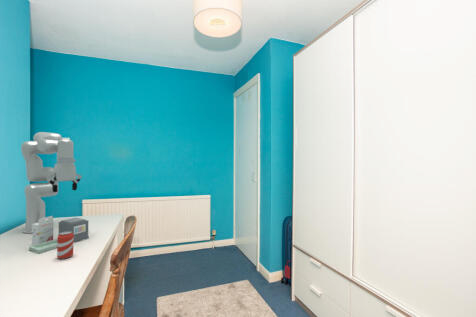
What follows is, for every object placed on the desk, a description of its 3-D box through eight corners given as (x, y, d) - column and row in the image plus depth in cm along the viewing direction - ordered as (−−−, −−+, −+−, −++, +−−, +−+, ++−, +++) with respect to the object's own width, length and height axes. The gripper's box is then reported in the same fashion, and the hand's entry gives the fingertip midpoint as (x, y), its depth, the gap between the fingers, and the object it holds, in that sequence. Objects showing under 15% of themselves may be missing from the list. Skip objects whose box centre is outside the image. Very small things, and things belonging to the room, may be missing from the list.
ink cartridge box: (46, 239, 135) (47, 215, 135) (53, 240, 134) (54, 215, 134) (31, 244, 127) (31, 218, 127) (38, 245, 126) (38, 219, 126)
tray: (28, 250, 119) (28, 246, 119) (59, 241, 132) (59, 238, 132) (38, 253, 115) (38, 250, 115) (69, 244, 127) (69, 241, 127)
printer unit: (58, 240, 134) (58, 220, 134) (76, 235, 143) (76, 217, 143) (70, 243, 128) (70, 223, 129) (88, 238, 138) (88, 219, 138)
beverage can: (53, 259, 109) (54, 234, 109) (67, 253, 115) (67, 230, 115) (63, 260, 108) (63, 235, 108) (76, 255, 114) (76, 231, 114)
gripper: (77, 161, 139) (77, 189, 139) (43, 161, 124) (43, 192, 124) (84, 161, 136) (84, 189, 136) (50, 161, 121) (50, 193, 120)
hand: (65, 191), depth 130 cm, fingers open, 9 cm apart
